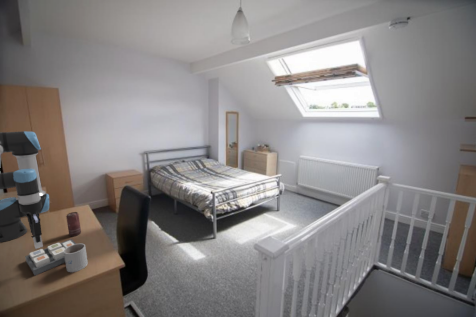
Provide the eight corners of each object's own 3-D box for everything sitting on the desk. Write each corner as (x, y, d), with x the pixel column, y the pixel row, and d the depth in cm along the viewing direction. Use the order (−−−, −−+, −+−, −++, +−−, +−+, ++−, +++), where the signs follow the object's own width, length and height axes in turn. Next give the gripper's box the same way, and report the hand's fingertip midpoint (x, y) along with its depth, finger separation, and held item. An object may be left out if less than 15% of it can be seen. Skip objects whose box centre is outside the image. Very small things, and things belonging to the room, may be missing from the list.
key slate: (30, 258, 112) (29, 252, 112) (43, 253, 116) (42, 248, 116) (32, 261, 109) (31, 256, 109) (45, 256, 113) (44, 251, 113)
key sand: (52, 256, 114) (51, 251, 113) (64, 251, 118) (63, 246, 117) (55, 260, 111) (54, 254, 110) (67, 255, 115) (66, 250, 114)
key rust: (34, 263, 108) (33, 258, 108) (47, 258, 112) (46, 253, 112) (36, 267, 105) (35, 262, 105) (49, 262, 109) (49, 257, 109)
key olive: (48, 251, 118) (47, 246, 117) (59, 246, 122) (58, 241, 121) (51, 254, 115) (50, 249, 115) (62, 250, 119) (61, 245, 118)
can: (75, 237, 135) (72, 216, 132) (66, 236, 137) (63, 215, 134) (83, 232, 141) (81, 212, 138) (75, 231, 142) (72, 211, 140)
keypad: (26, 261, 113) (24, 255, 112) (72, 243, 129) (71, 238, 128) (34, 275, 103) (33, 269, 102) (83, 254, 119) (82, 249, 118)
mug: (89, 265, 110) (87, 248, 108) (69, 274, 104) (65, 256, 102) (83, 255, 118) (80, 238, 116) (63, 263, 112) (60, 245, 110)
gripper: (16, 201, 103) (25, 246, 108) (22, 208, 95) (32, 256, 100) (37, 196, 109) (45, 239, 113) (44, 202, 101) (52, 248, 106)
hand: (39, 247), depth 107 cm, fingers closed
